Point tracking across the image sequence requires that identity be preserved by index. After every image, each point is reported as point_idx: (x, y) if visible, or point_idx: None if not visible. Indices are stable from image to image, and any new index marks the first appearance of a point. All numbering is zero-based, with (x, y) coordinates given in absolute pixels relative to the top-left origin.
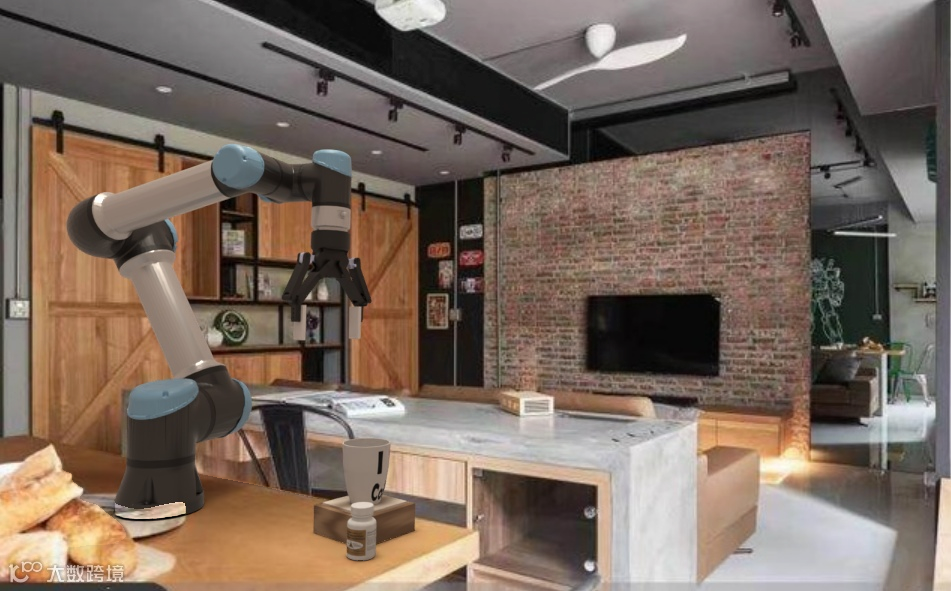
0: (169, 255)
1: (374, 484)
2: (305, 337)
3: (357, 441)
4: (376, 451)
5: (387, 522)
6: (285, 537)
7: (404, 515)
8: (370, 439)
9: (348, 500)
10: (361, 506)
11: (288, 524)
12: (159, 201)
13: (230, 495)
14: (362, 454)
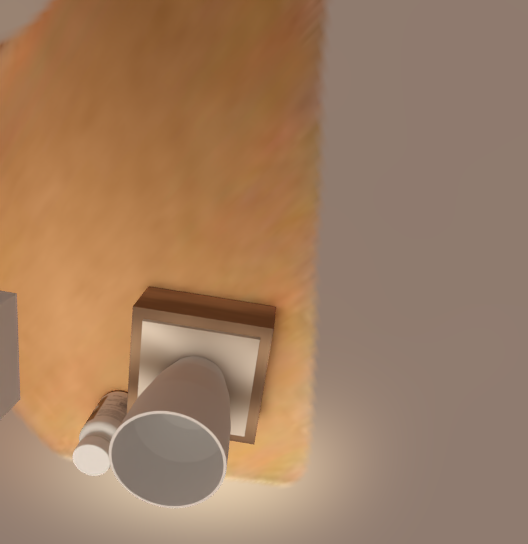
0: None
1: (170, 437)
2: (9, 410)
3: (191, 415)
4: (148, 492)
5: None
6: (102, 263)
7: None
8: (215, 439)
9: (182, 352)
10: (84, 464)
11: (153, 216)
12: None
13: None
14: (126, 469)
